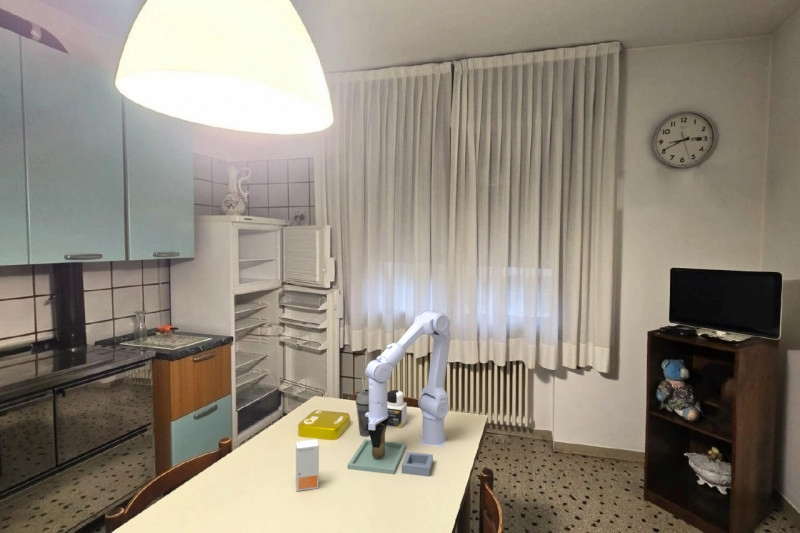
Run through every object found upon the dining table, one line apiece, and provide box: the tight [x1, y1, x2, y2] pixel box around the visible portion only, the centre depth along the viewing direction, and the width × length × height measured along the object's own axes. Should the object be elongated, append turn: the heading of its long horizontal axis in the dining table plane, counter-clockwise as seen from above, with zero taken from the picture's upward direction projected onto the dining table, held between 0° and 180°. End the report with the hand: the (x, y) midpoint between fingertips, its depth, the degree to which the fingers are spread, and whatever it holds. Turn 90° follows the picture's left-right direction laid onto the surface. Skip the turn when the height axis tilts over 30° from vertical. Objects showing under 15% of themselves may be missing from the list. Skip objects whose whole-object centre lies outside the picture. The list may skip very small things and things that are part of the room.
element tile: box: [297, 409, 351, 441], centre depth 151 cm, size 15×15×5 cm
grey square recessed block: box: [401, 451, 434, 477], centre depth 123 cm, size 8×8×3 cm
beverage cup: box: [355, 377, 370, 437], centre depth 147 cm, size 7×7×20 cm
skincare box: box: [295, 439, 320, 492], centre depth 114 cm, size 6×4×12 cm
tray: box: [347, 439, 407, 475], centre depth 129 cm, size 17×14×2 cm
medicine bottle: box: [387, 389, 408, 429], centre depth 156 cm, size 7×7×12 cm
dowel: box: [372, 423, 386, 457], centre depth 129 cm, size 4×4×9 cm
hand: (378, 443), depth 129 cm, fingers closed on dowel, 4 cm apart
